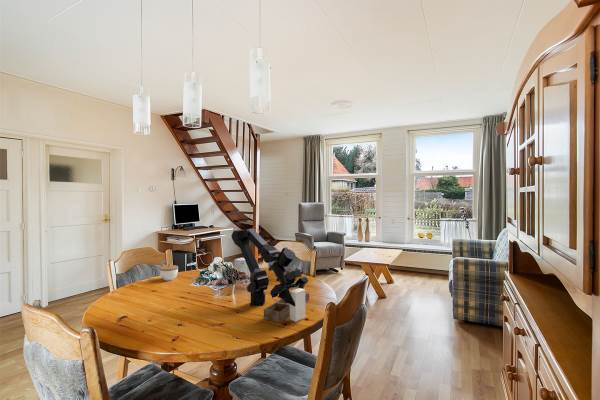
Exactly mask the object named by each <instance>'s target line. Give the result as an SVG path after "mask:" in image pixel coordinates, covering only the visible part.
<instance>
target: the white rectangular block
mask: <svg viewBox="0 0 600 400" xmlns="http://www.w3.org/2000/svg"><path fill="white" fill-rule="evenodd" d="M305 292H306V289H305V288H304V289H301V288H298V289H295V288H294V289H292V290H289V293H290V295H291V297H292V298H293V300H294V302H295V306H292V305H291V304H290V316H289V320H290V321H293V322H295V323H297V322H299V321H301V320H303V319H306V303H305Z"/></svg>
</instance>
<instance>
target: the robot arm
mask: <svg viewBox="0 0 600 400" xmlns="http://www.w3.org/2000/svg"><path fill="white" fill-rule="evenodd" d="M231 239H232V241H233V243H234V245H236V246H237V247H238V248H239V249H240V251H241V254H242V256H243V257H244V259H245V261H246V264H247V266H248V269H249V271H250V274H249V284H248V285H247V286H246V290H247V293H249V294H250V303H249V306H264V305H265V303H266V292H265V291H267V290H268V287H269V283H270V279H269V276H268V274H267V271H266V269H265V270H264V269H263V270H262V269H261V268H260V265H259V263H258V261H257V259H256V256H255V254H254V252H253V250H252V247H251V245H250V242H251V243H252V244H253V245H254V246H255V247H256V249H258V251H260V256H261V259H262V260H263V261H264V262H265V263H266V264H269V263H272V264H269V267H268V271H269V272H271V271H272V272H273V273H274V275H275V277H276V279H275V281H276V283H278V282H279V283H278V284H275V285H274V286H273V288H272V289H271V290H270V291H269V292H270V296H271V298H276V297H277V298H278V299H283V300H285V301H286V302H288V303H289V304H291V305H292V306H295V302H294V300H293V298H292V297H291V295H290V289H293V288H294V290H295V289H298V288H301V289H305V288H304V287H305V285H306V284H307V283H309V279H308V277H306V276H302V275H303V274H304V271H303V269H302V268H301V266H299V267H297V268H295V269H294V270H292V271H291V270H288V268H287V267H289V266H290V265H291V264H292V263H293V261H294V260H295V259H296V253H295V252H294V251H293V250H291V249H289V248H288V247H287V246H285V247H283V248H282V249H281V251H280V250H279V249H278V248H276V247H275V246H273V245H270V244H268V243H267V241H265V239H264V238H263V237H262V236H261V235H260V234H259V233H258V232H257V230H256V229H255V228H253V227H251V228H246V229H237V230H233V231H232V232H231ZM305 302H306V299H305Z"/></svg>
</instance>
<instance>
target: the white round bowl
mask: <svg viewBox="0 0 600 400" xmlns="http://www.w3.org/2000/svg"><path fill="white" fill-rule="evenodd" d="M178 273H179V266H178V265H173V264H172V265H171V264H168V265H164V266H161V267H159V275H160V278H161V279H162V280H163V281H165V282H167V281H168V282H170V281H174V280H175V279H176V277H177V276H178V275H179V274H178Z"/></svg>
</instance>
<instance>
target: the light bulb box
mask: <svg viewBox="0 0 600 400" xmlns="http://www.w3.org/2000/svg"><path fill="white" fill-rule="evenodd" d="M235 268H237V269H238V270H239V271H240V272H245V273H247V274H249V275H250V271H249V269H248V266H247V264H246V261H245V259H244V256H243V257H239V258H235V259H234V269H235Z"/></svg>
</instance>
